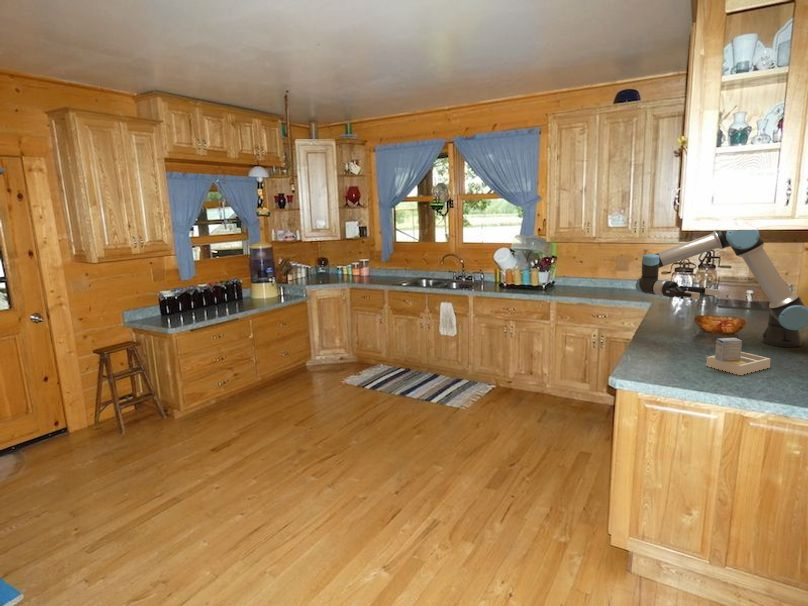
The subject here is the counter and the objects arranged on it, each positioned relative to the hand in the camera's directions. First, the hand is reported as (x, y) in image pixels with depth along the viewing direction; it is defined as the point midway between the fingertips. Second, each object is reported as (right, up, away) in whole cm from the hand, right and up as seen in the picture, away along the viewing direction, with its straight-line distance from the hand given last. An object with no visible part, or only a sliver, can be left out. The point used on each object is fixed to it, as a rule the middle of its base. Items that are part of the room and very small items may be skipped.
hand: (709, 294), depth 216 cm
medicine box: (-2, -27, -15) cm, 31 cm away
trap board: (+5, -30, -11) cm, 33 cm away
